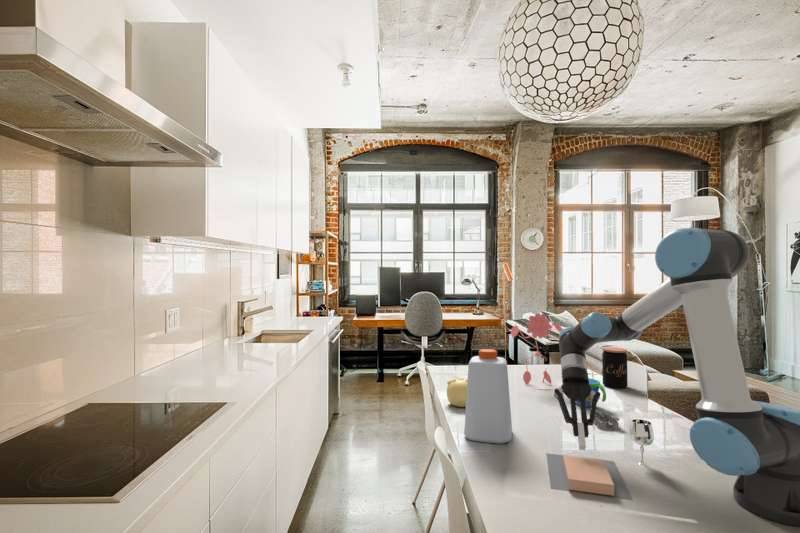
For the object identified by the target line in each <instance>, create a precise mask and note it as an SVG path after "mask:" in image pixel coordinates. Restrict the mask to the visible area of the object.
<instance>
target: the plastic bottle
mask: <svg viewBox="0 0 800 533" xmlns="http://www.w3.org/2000/svg"><path fill="white" fill-rule="evenodd" d="M467 380H468V381H467V397H466V407H465V413H464V414H465V415H464V430H463V433H464V436H465V438H467V439H468V440H469V441H473V442H480V443H489V444H497V445H503V444H508V443H510V442H511V441H512V438H513V426H512V425H513V423H512V413H511V398H510V397H511V396H510V384H509V373H508V360H506V358H504V357H501V356H498V351H497V350H496V349H491V348H483V349H479V350H478V355H474V356H472V357H471V358H470V360H469V362H468V370H467Z"/></svg>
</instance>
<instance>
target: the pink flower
mask: <svg viewBox="0 0 800 533" xmlns="http://www.w3.org/2000/svg"><path fill="white" fill-rule="evenodd" d="M528 319H529V322H527V323H526V327H527V329H526V333H527V334H531V335H530V336H525V335H524V334H523V333H522V331H521V330H520V329H519V327H518V325H517V324H515V325H513V327H511V329H510V335H511V337H512V339H514V338H515V337H516V336H517V335H519V333H520V334H521V336H522V337H523V339H529V338H533V339H535V345H536V351H535V352H534V355H531V356H529V357H527V358H526V359H525V364H526V365H525V366H526V368H528V361H527V360H528V359H531V358H533V357H537V358H539V357H542V358H544V359H545V360H547V357H545V356H544V355H542V352H540V351H539V346H538V342H537V341H538V340H537V338H539V339H543V338H545V337H546V338H547V337H548V336H549V335H550V332H551V330H552V328H553V327H554V329H556V330H557V331H558V332H559V333H560V331H561V330H562V329H563V328H562V327H561V325H560V324H558V323H557V322H555V321H553V322H552V324H550V323H551V319H550V318H546V314H545V313H543V312H542V313H541V314H540V313H535V314H534V315H529V316H528ZM542 374H543V378H542V383H545V381H546V382H548V384H550V385H552V379H551V376H550V374H549V373H548V372H547V369H545V370H544V371H543V373H542ZM522 379H523V382H524V384H525V386H527V385H528V384H530V382H531V379H532V374H531V372H530V371H529V370H528V369H526V371H524V373H523V376H522ZM556 389H560V387H557V388H556ZM538 390H543V391H544V390H545V391H549V390H550V391H551V390H553V388H552V389H551V388H550V389H549V388H548V389H546V388H545V389H544V388H543V389H542V388H538Z"/></svg>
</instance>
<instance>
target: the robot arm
mask: <svg viewBox="0 0 800 533" xmlns="http://www.w3.org/2000/svg"><path fill="white" fill-rule="evenodd" d="M750 255H751V251H750V247H749V245H748V243H747V242H746V240H745V239H744V238H743V236H741V235H739V234H738V233H736V232H734V231H732V230H726V229H709V228H699V227H695V226H694V227H685V228H683V227H682V228H677V229H674V230H671V231H670V232H668V233H667V234H665V235H664V236H663V237H662V239H661V241H660V242H659V243H658V244H657V247H656V248H655V255H654V259H655V260H654V261H655V264H656V267H657V268H658V270H659V271H660V272H661V273H663V275H665V276H667V277H669V278H667V279H666V280H665V281H663V282H662V283H660V284H659V285H658V286H656V287H655V288H654V289H652V290H651V291H650V292H648V293H647V294H645V295H644V296H642V297H641V298H640V299H639V300H637V301H636V302H634V303H633V304H631V305H630V306H629V307H627V308H626V309H625V310H623V311H622V312H620V313H619V314H618V315H617V316H613V317H610V316H609V317H608V316H607V315H605V314H604V313H600V312H599V311H593V312H591V313H589V314H588V315H586V316H585V317H583V318H582V319H581V320H580V322H579V323H578V324H576V325H575V326H568V327H566V328H562V330H561V331H560V332H559V334H558V345H559V346H558V348H559V355H560V356H559V358H560V365H561V366H560V368H561V382H562V384H561V386H560V387H559V389H557V388H554V389H553V390H554V391H553V396H554V397H555V399H557V401H558V404H559V406H560V409H561V413H562V415H563V418H564V421H565V423H566V424H570V425H571V427H572V434H573V437H577V442H578V450H580V451H586V447H587V444H586V442H587V441H586V438H588V437H589V434H590V433H589V426H594V418H595V412H596V411H597V403H598V402H599V400H600V399H601V392H599V391H598V392H594V391H593V390H592V388H591V387H590V385H589V379H588V378H589V374H588V373H589V372H588V365H587V364H588V363H587V359H586V357H587V356H586V352H587V351H588V350H589V349H591V348H592V347H593V346H594V345H595V344H597V343H598V344H599V343H604V342H605V343H606V342H607V343H609V342H622V341H624V342H628V341H629V342H630V341H632V340H633V341H634V340H637V339H639V338H640V337H641V336H642V333H643V330H645V329H646V328H648V327H649V326H651V325H652V324H654V323H656V322H658V321H659V320H660V319H662V318H664V317H665V316H666V315H668V314H670V313H672V312H673V311H674V310H676V309H677V308H680V307H681V306H683V311H684V312H683V313H684V316H685V317H684V318H685V321H686V326H687V331H688V336H689V342H690V345H691V350H692V355H693V361H694V365H695V369H696V370H695V371H696V375H697V379H698V386H699V389H700V394H701V395H700V396H701V400H699V401H698V402H697V403H696V405H695V409H696V414H697V415H696V416H697V419H696V420H695V421H694V422H693V425H692V426H691V427H690V428H689V440H690V443H691V446H692V447H693V448H692V449H693V450H694V452H695V453H696V455H697V456H698V457H699V458H700V459H701V460H702V461H704V462H705V463H706V465H707V466H709V467H710V468H711V469H713V470H715V471H716V472H718V473H721V474H723V475H726V476H732V477H735V476H736V477H737V478H736V479H735V481H734V484H733V487H732V488H733V491H732V493H733V494H732V496H733V498H734V500H735V502H736V503H737V504H738V505H740V506H741V507H743V508H744V509H746V510H748V511H749V512H751V513H753V514H755V515H757V516H761V517H762V518H765V519H768V520H770V521H774V522H777V523H781V524H784V525H788V526H789V525H790V526H793V527H795V526H796V527H800V410H798V409H796V408H793V407H792V408H791V407H788V406H784V405H780V404H775V403H769V402H764V401H758V400H757V401H756V400H754V399H752V398H751V394H750V389H749V386H748V380H747V376H746V373H745V372H746V371H745V368H744V363H743V360H742V359H743V358H742V355H741V351H740V346H739V342H738V337H737V333H736V327H735V323H734V319H733V315H732V312H731V306H730V303H729V302H730V301H729V298H728V293H727V288H728V287H729V286H730V284H731V283H732V282H733V278H735V277H736V276H737V275H739V274H740V273H741V272H743V270H745V268H746V267H747V265H748V263H749V260H750V258H751V256H750ZM590 394H591V398H592V399H593V400H592V405H591V408H590V410H591V412H590V411H589V413H590V414H589V418H588V416H587V415H588V414H587V408H586V405H585V400H586V399H587V397H588V396H589V395H590ZM564 395H565V396H566V397H567V398H568V399H569V404H570V410H571V412H570V411H569V410H568V407H567V404H566V401H565V398H564ZM576 401H579V404H580V406H579V407H580V408H579V410H580V417H581V419H580V420H581V422H578V413H577V404H576ZM570 413H571V416H570Z"/></svg>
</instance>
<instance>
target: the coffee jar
mask: <svg viewBox="0 0 800 533" xmlns="http://www.w3.org/2000/svg"><path fill="white" fill-rule="evenodd" d="M601 350H602V352H601V353H602V355H601V358H602V384H603V387H606V388H609V389H614V390H624V389H627V387H628V383H629V382H628V355H627V352H628V349H626V348H623V347H617V346H616V347H615V346H604V347H602V348H601Z"/></svg>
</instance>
